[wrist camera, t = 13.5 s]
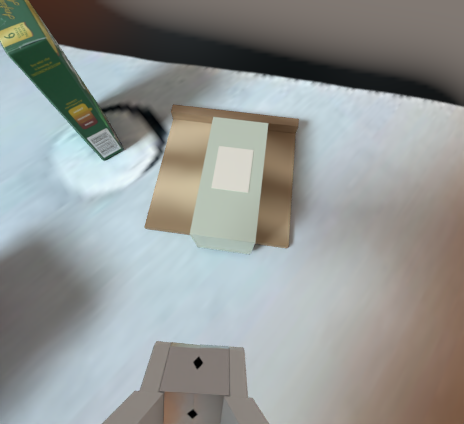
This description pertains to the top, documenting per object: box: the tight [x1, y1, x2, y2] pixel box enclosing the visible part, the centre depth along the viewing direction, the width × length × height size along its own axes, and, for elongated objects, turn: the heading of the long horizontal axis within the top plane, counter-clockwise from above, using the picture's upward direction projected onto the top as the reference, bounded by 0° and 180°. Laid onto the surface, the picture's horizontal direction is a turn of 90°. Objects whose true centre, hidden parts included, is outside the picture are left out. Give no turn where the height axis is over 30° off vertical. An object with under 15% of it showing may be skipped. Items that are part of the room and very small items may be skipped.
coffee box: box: [0, 0, 124, 160], centre depth 22 cm, size 8×3×13 cm, turn 33°
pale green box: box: [190, 117, 268, 254], centre depth 23 cm, size 5×5×11 cm
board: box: [145, 105, 299, 248], centre depth 26 cm, size 14×14×2 cm
